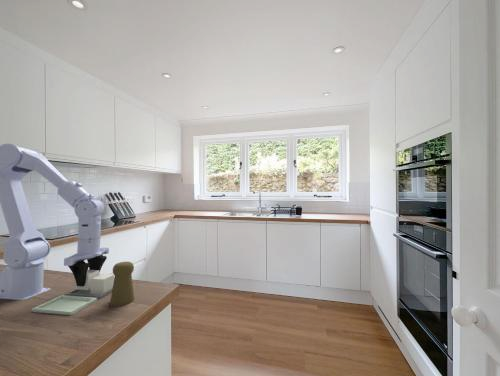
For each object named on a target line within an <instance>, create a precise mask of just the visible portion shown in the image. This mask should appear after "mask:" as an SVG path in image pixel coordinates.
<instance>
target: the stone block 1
mask: <svg viewBox="0 0 500 376" xmlns="http://www.w3.org/2000/svg"><path fill="white" fill-rule="evenodd" d="M98 275H100V273H99V270H89V269H88V271H87V274H86V283H85V286H83V287H82V286H77V285H76V281H75V287H74V290H75V289H80V290H89V289H91V278H94V277H96V276H98Z"/></svg>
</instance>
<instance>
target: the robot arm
mask: <svg viewBox="0 0 500 376" xmlns="http://www.w3.org/2000/svg"><path fill="white" fill-rule="evenodd" d="M33 171H35V172H37V173H38V174H39V175H40V176H41V177H43V178H44V179H45V180H47V181H48V182H50V183H51V184H52V185H53V186H55V187H56V188H57V195H58V196H59V197H60V198H62V199H63V200H64V201H65V202H67V204H69V205H70V206H71V208H73V211H74V213H75V215H76V217H77V218H78V222H77V223H78V233H77V250H76V253H74V254H73V255H71V256H68V257H64V260H63V266H65V267H68V268H69V269H70V272H72V275H73V278H74V281H75V282H76V285H77V286H82V287H83V286H85V283H86V274H87V271H88V270H99V274H100V272H101V270H102V267H103V265H104V263H105V262H106V260H107V254H109V253H110V252H109V251H110V248H109V247H101V233H102V232H101V231H102V230H101V229H102V215H103V214H104V212H105V210H106V205H105V204H104V202H103V201H102V199H99V198H94V197H95V195H94V194H92V193H89V192H88V191H87V190H86V189H85V188H83V184H82V183H81V182H76V181H75V180H73V181H72V180H70V181H69V180H68V179H67V177H65V176H64V175H63V174H62V173H61V172H60V171H59V170H58V169H57V168H56V167H55V166H54V165H53V164H52V163H51V162H50V161H49V160H48V159H47V157H46V156H45V155H43V154H41V152H39V151H38V150H36V149H30V148H26V147H22V146H18V145H15V144H12V143H4V144H1V145H0V206H1V210H2V213H3V216H4V220H5V224H6V227H7V230H8V234H9V236H8V237H7V239H6V240H5V241H4V242H3V248H4V249H3V254H2V255H3V257H2V258H3V262H4V263H5V264H6V265H7V266H6V267H4V269H3V270H2V271H1V273H0V299H3V300H4V299H6V300H16V301H17V300H18V301H24V300H27V299H30V298H33V297H35V296H38V295H40V294H43V293H45V292H47V291H49V290H50V291H51V290H52V288H50V287H44V274H45V273H44V269H45V268H44V267H45V261H46V257H47V256H48V255H49V254H50V253H51V245H50V243H49V242H48V241H47V240H46V238H45V237H44V234H43V233H42V232H40V231H38V230H37V229H36V226H35V224H34V220H33V218H32V214H31V211H30V207H29V203H28V201H27V197H26V195H25V191H24V187H23V185H22V179H23V178H24V177H26V176H27V175H29V174H30V173H32V172H33ZM86 261H87V262H86Z"/></svg>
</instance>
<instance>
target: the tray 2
mask: <svg viewBox="0 0 500 376" xmlns="http://www.w3.org/2000/svg"><path fill="white" fill-rule="evenodd" d="M90 293H91V289H89V290H80V289H75V288H74V289H73V290H70V291H69V292H67V293H65V294H64V295H66V296H79V297H92V298H97V300H101V299H103V298H104V297H106V296H108V295H109V294H112V289H111V290H109V291H107V292H105V293H103V294H102V295H95V294H90Z"/></svg>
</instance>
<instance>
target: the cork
mask: <svg viewBox="0 0 500 376" xmlns="http://www.w3.org/2000/svg"><path fill="white" fill-rule="evenodd" d="M134 270H135V266H134V264H133V262H132V261H120V262H118V263H117V262H116V263H115V264H114V266H113V267H112V275H114V284H113V289H112V293H111V295H110V296H111V297H110V302H109V303H110V304H109V305H111V306H113V307H115V306H116V307H119V306H120V307H121V306H126V305H129V304H131V303H133V302H134V301H135V294H134V293H135V291H134V286H133V276H132V275H133V272H134Z"/></svg>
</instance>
